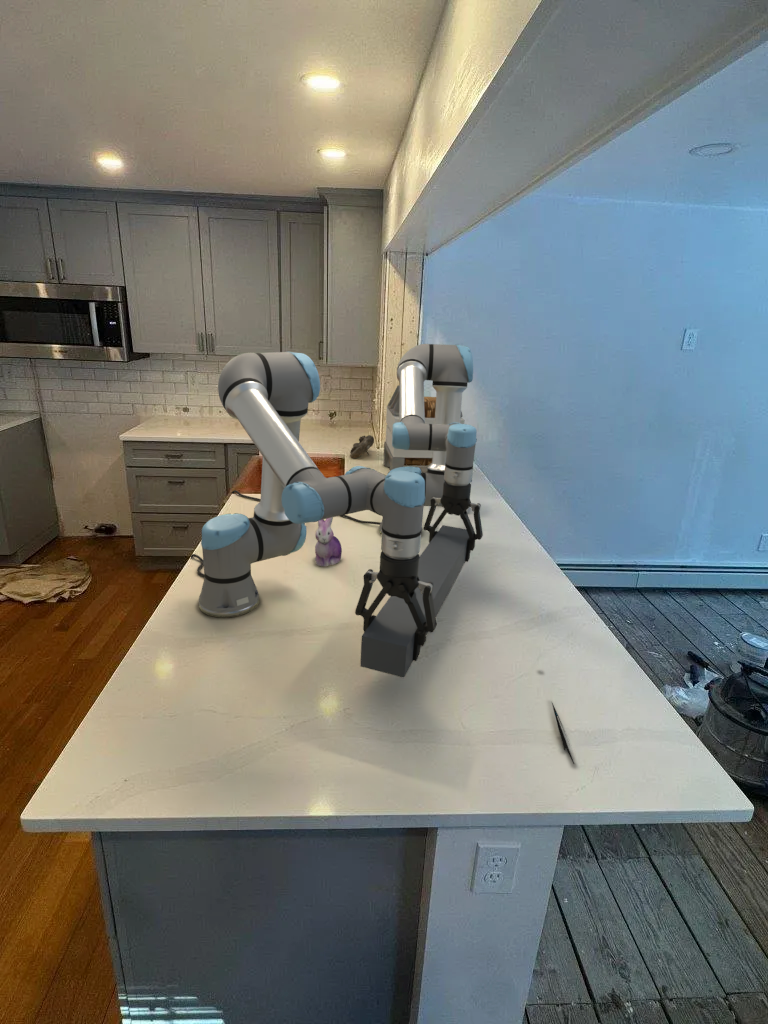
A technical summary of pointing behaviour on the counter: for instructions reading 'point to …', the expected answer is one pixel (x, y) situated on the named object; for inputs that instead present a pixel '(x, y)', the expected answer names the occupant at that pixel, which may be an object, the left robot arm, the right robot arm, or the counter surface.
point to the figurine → (327, 544)
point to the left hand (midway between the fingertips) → (393, 651)
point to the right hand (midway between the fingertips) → (450, 556)
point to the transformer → (401, 456)
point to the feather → (562, 734)
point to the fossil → (362, 446)
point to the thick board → (394, 624)
